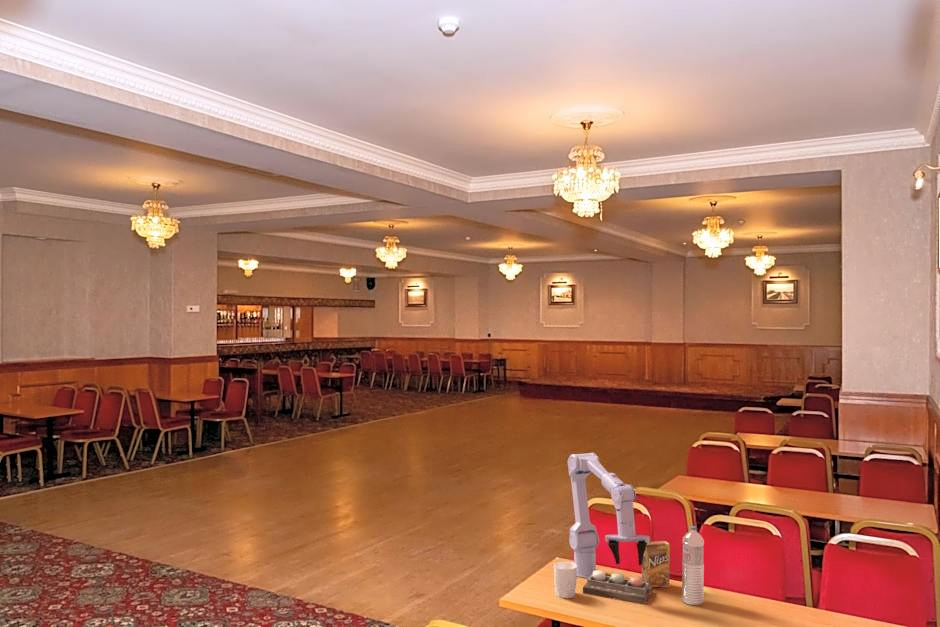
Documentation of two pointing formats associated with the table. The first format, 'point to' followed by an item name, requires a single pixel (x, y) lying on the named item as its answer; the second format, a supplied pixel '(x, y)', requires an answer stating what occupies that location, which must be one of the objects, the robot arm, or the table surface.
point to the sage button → (617, 578)
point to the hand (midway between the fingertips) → (629, 564)
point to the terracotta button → (636, 581)
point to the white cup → (565, 579)
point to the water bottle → (693, 568)
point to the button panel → (617, 590)
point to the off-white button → (599, 575)
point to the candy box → (656, 564)
